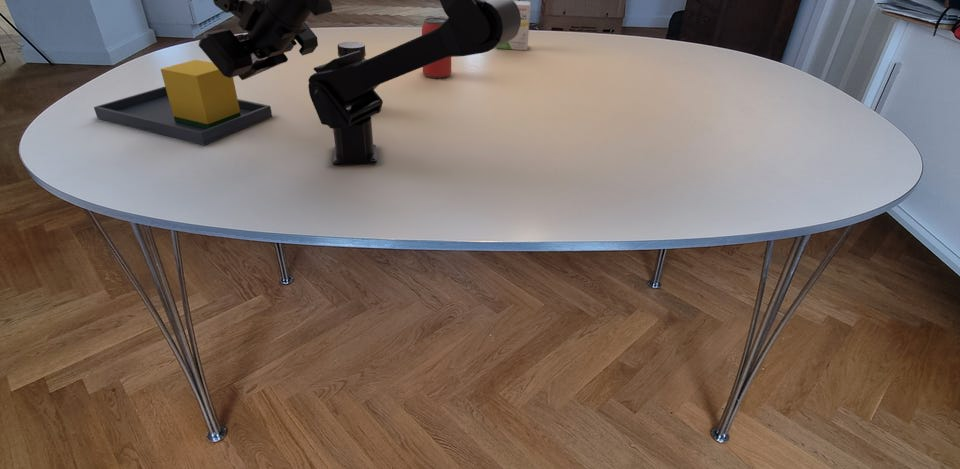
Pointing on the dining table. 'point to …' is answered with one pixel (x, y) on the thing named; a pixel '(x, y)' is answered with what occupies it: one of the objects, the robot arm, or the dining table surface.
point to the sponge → (200, 94)
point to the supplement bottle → (351, 51)
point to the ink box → (520, 29)
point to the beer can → (441, 66)
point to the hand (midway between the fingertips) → (241, 77)
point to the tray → (157, 117)
